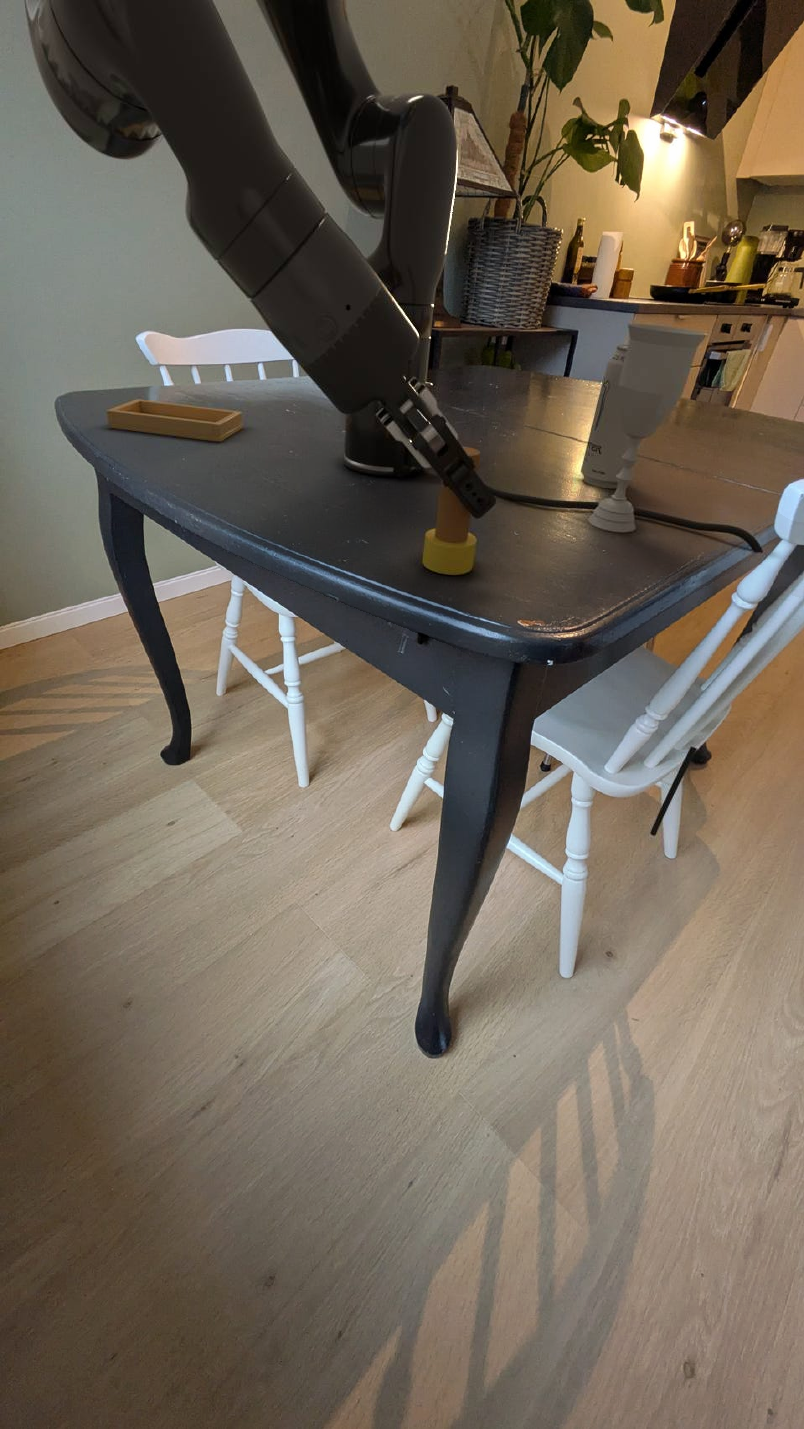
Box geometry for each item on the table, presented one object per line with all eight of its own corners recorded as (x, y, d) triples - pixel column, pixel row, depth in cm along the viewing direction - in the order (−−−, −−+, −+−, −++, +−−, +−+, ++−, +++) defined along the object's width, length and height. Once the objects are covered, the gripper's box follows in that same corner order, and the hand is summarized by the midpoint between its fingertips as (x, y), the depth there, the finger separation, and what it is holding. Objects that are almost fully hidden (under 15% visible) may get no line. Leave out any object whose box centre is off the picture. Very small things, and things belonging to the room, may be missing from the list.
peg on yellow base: (480, 563, 56) (499, 451, 50) (459, 579, 53) (476, 462, 47) (436, 550, 57) (449, 440, 52) (413, 565, 54) (424, 450, 49)
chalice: (565, 513, 69) (611, 322, 59) (615, 510, 72) (668, 325, 61) (607, 538, 64) (665, 333, 53) (658, 533, 66) (725, 336, 56)
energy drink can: (576, 473, 83) (607, 342, 74) (621, 478, 83) (659, 347, 74) (582, 486, 78) (616, 348, 69) (630, 492, 78) (671, 354, 69)
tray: (242, 428, 87) (241, 411, 86) (220, 442, 81) (218, 424, 80) (139, 415, 89) (137, 399, 87) (109, 427, 82) (106, 410, 81)
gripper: (399, 282, 36) (549, 499, 46) (359, 270, 47) (488, 447, 57) (306, 381, 38) (469, 568, 48) (289, 347, 49) (425, 505, 59)
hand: (478, 502), depth 52 cm, fingers closed on peg on yellow base, 3 cm apart
